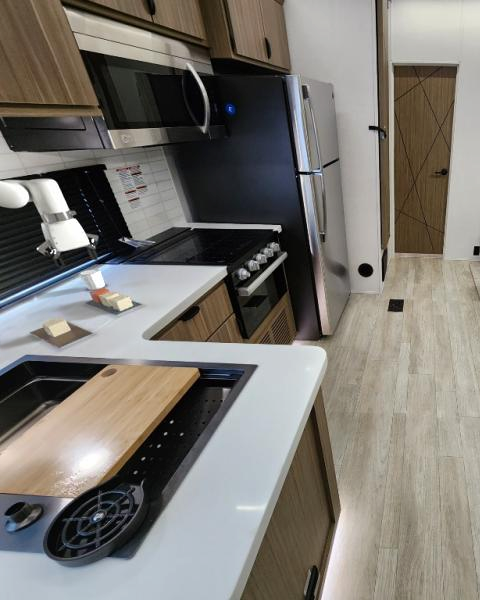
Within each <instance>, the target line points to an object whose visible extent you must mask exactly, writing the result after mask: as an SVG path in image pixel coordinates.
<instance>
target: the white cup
mask: <svg viewBox="0 0 480 600" xmlns="http://www.w3.org/2000/svg"><path fill="white" fill-rule="evenodd" d="M78 276H79V278H80V279H81V281H82V282H83V284H84V285H85V286H86V288H87V289H88V290H90V291H94V290H97V289H100V288H105V287H106V284H105V281H104V278H103V275H102V273H101V270H100V269H99V268H92V269H86V270H83V271H81V272H79V273H78Z"/></svg>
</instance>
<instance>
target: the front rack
mask: <svg viewBox="0 0 480 600" xmlns="http://www.w3.org/2000/svg"><path fill="white" fill-rule="evenodd" d="M66 322H67V324H68V326H69V328H70V329H71V331H68V332H66V333H63V334H61V335H58V336H56V337H53V336H51V335H49V334H47V332H46V331H45V329H44V327H43V326H42V327H40V328H37V329H34V330H33V331H30V332H29V334H31V335H33V336H34V337H36V338H39V339H40V340H42V341H45V342H47V343H48V344H50V345H52V346H55V347H56V348H58V349H60V348H63V347H65V346H68V345H69V344H72V343H74V342H76V341H78V340H81V339H83V338H85V337H88V336H90V335H92V334H93V333H94V332H92V331H89V330H87V329H84V328H82V327H80V326H77V325H75V324H73V323H71V322H69V321H66Z"/></svg>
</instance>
